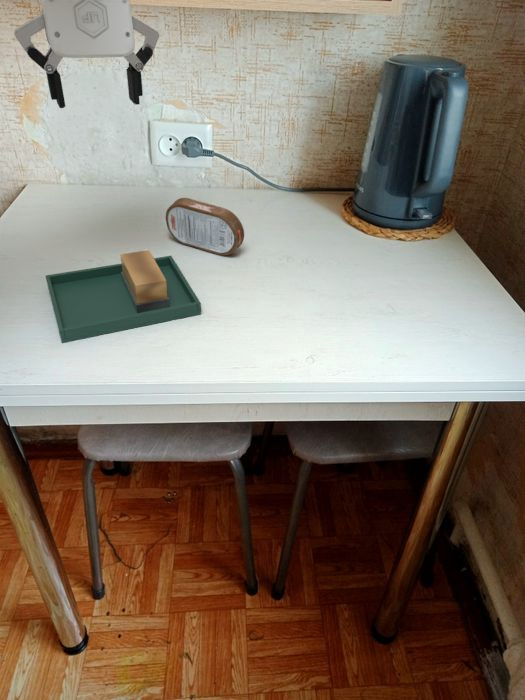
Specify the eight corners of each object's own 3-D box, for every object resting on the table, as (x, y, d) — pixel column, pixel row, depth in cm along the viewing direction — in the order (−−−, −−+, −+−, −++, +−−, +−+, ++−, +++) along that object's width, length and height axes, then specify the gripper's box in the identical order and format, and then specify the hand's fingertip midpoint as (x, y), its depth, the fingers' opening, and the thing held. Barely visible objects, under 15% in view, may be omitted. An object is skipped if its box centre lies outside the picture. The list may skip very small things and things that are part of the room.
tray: (61, 343, 70) (59, 331, 69) (48, 286, 80) (45, 275, 79) (201, 314, 77) (200, 303, 76) (171, 266, 88) (171, 255, 86)
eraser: (137, 313, 75) (133, 286, 72) (121, 279, 82) (118, 253, 79) (169, 307, 77) (168, 280, 74) (152, 274, 84) (150, 248, 81)
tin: (244, 255, 92) (246, 211, 87) (236, 262, 90) (237, 218, 85) (173, 234, 97) (171, 191, 91) (164, 241, 94) (161, 197, 89)
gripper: (-5, -64, 52) (32, 115, 63) (161, -54, 58) (169, 108, 69) (-9, -67, 57) (27, 99, 68) (144, -57, 63) (154, 94, 74)
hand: (98, 103), depth 68 cm, fingers open, 9 cm apart
